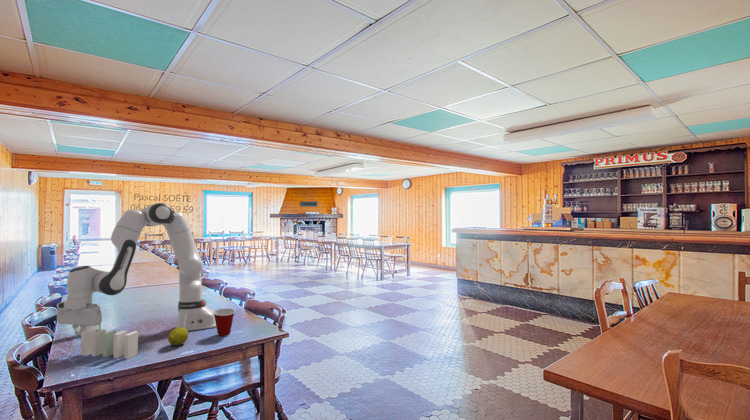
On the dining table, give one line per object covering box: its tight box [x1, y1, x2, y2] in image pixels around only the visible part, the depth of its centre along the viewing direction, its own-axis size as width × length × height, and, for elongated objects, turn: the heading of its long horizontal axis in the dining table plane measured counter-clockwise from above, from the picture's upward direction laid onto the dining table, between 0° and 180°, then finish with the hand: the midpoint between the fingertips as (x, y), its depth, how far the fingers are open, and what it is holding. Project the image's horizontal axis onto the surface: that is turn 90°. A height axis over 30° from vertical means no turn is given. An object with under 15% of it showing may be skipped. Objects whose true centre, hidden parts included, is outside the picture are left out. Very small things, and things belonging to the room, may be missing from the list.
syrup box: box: [84, 303, 102, 332], centre depth 188 cm, size 6×6×14 cm
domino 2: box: [91, 328, 107, 357], centre depth 159 cm, size 2×5×10 cm, turn 170°
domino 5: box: [124, 331, 139, 360], centre depth 157 cm, size 2×5×10 cm, turn 170°
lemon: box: [167, 327, 189, 346], centre depth 171 cm, size 11×8×8 cm
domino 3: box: [102, 329, 118, 358], centre depth 159 cm, size 2×5×10 cm, turn 170°
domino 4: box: [112, 330, 128, 359], centre depth 158 cm, size 2×5×10 cm, turn 170°
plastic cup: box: [213, 307, 236, 337], centre depth 186 cm, size 11×11×12 cm
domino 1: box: [80, 329, 95, 357], centre depth 160 cm, size 2×5×10 cm, turn 170°
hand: (79, 334), depth 161 cm, fingers closed
